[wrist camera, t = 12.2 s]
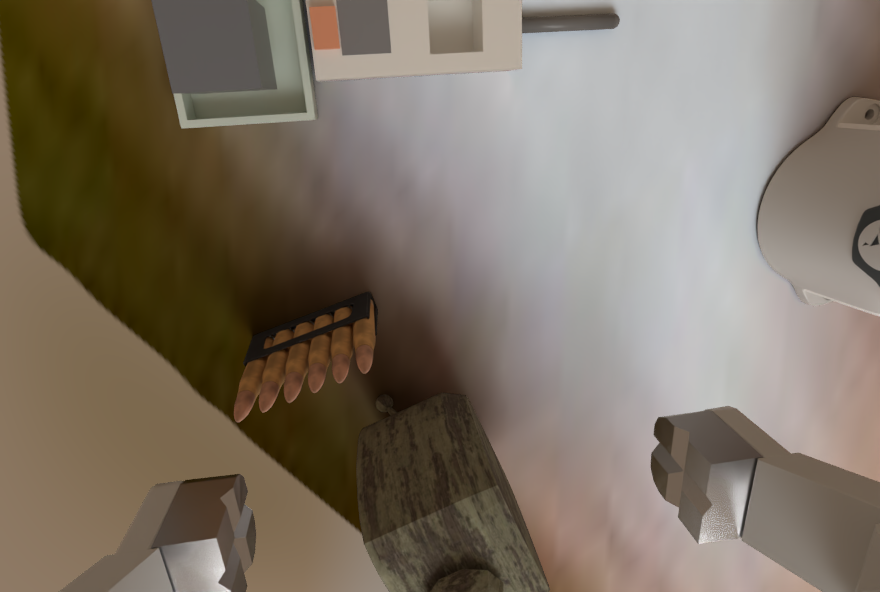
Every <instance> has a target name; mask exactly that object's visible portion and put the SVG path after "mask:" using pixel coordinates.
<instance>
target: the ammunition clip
mask: <svg viewBox="0 0 880 592" xmlns="http://www.w3.org/2000/svg"><path fill="white" fill-rule="evenodd" d="M377 314H378V309H377V307H376V304H375V302H374V300H373V297H372V295H371V293H370V292H366V293H363V294H361V295H358V296H355V297H353V298H350V299H348V300H345V301H342V302H340V303H337V304H335V305H332V306H329V307H327V308H324V309H322V310H319V311H316V312H314V313H311V314H308V315H306V316H303V317H301V318H298V319H295V320H293V321H290V322H288V323H285V324H282V325H280V326H277V327H275V328H272V329H269V330H267V331H264V332H262V333H259V334H256V335H254V336H253V338H252V340H251V343H250V346H249V349H248V351H247V354H246V357H245V360H244V362H243V364H244V365H245V366H246V365H247V366H246V368H245V371H244V373H243V376H242V378H241V381H240V383H239V392H238V395H237V399H236V402H235V406H234V418H235V421H236V422H240V421H242V420H243V419H244V418H245V417H246V416H247V415H248V413H249V412H250V410H251V408H252V406H253V404H254V402H255V400H256V398H257V396H258V395H259V393H260V396H259V406H260V410H261V411H262V412H266V411H268V410H269V409H270V408H271V407H272V405H273V404H274V402H275V400H276V398H277V395H278V392H279V391H280V388H281V386H282V384H283V383H284V381H285V383H284V395H285V399H286V400H287V402H289V403H290V402H292V401H293V400H294V399H295V398H296V397H297V395H298V394H299V392H300V390H301V387H302V383H303V381H304V377H305V376H306V374H307V372H308V369H309V373H308V383H309V387H310V389H311V391H312V392H313V393H316V392H318V391H319V390H320V388H321V387H322V385H323V383H324V380H325V376H326V373H327V368H328V366H329V364H330V361H331V356H332V372H333V376H334V378H335V380H336V381H337V382H338V383H342V382H343V381H344V380H345V378H346V376H347V374H348V371H349V364H350V359H351V357H352V354H353V345H354V349H355V354H356V361H357V365H358V368H359V369H360V371H361V372H362V373H364V374H366V373H367V372H368V371H369V370H370V368H371V365H372V361H373V351H374V347H375V336H376V335H377Z"/></svg>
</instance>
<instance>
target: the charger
mask: <svg viewBox="0 0 880 592" xmlns="http://www.w3.org/2000/svg"><path fill="white" fill-rule="evenodd" d="M151 1H152V5H153V9H154V14H155V18H156V23H157V27H158V32H159V36H160V40H161V45H162V49H163V54H164V58H165V63H166V67H167V71H168V76H169V80H170V85H171V89H172V93H173V94H207V93H224V92H241V91H258V90H275V89H277V84H276V78H275V71H274V65H273V58H272V52H271V46H270V39H269V33H268V27H267V20H266V14H265V8H264V7H263V6H262V5H261V4H259V3H258V2H257V1H256V0H151Z"/></svg>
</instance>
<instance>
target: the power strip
mask: <svg viewBox="0 0 880 592" xmlns="http://www.w3.org/2000/svg"><path fill="white" fill-rule="evenodd" d="M306 7H307V15H308V22H309V30H310V38H311V45H312V53H313V60H314V68H315V76H316V80H317V81H320V82H324V81H342V80H360V79H377V78H395V77H412V76H430V75H447V74H465V73H482V72H500V71H511V70H517V69H522V33H537V32H557V31H577V30H598V29H614V28H616V27H617V26H618V24H619V21H620V19H619V16H618V15H616V14H597V15H575V16H553V17H531V18H522V0H306Z"/></svg>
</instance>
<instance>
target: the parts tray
mask: <svg viewBox="0 0 880 592" xmlns="http://www.w3.org/2000/svg"><path fill="white" fill-rule="evenodd" d="M256 1H257V2H258V3H259V4H261V5H262V6H263V7H264V8H265V14H266V20H267V27H268V33H269V39H270V46H271V52H272V58H273V65H274V71H275V78H276V84H277V89H275V90H258V91H241V92H224V93H207V94H174V98H175V103H176V107H177V112H178V116H179V120H180V125H181V128H196V127H211V126H227V125H242V124H258V123H273V122H288V121H304V120H316V119H318V113H317V105H316V98H315V90H314V83H313V75H312V68H311V60H310V53H309V45H308V38H307V30H306V23H305V15H304V8H303V0H256Z"/></svg>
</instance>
